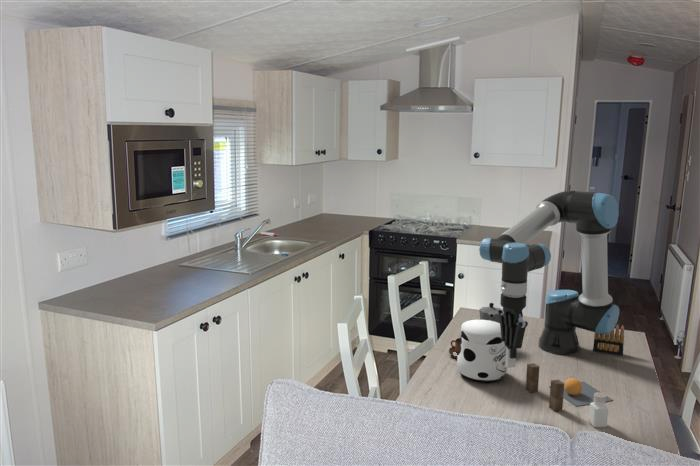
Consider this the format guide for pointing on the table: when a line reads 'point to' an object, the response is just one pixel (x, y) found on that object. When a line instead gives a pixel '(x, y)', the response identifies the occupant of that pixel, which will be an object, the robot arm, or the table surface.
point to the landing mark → (583, 395)
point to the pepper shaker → (598, 411)
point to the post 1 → (532, 378)
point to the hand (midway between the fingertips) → (510, 366)
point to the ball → (573, 386)
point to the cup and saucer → (455, 347)
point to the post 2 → (556, 395)
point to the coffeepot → (490, 313)
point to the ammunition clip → (610, 342)
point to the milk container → (482, 351)
